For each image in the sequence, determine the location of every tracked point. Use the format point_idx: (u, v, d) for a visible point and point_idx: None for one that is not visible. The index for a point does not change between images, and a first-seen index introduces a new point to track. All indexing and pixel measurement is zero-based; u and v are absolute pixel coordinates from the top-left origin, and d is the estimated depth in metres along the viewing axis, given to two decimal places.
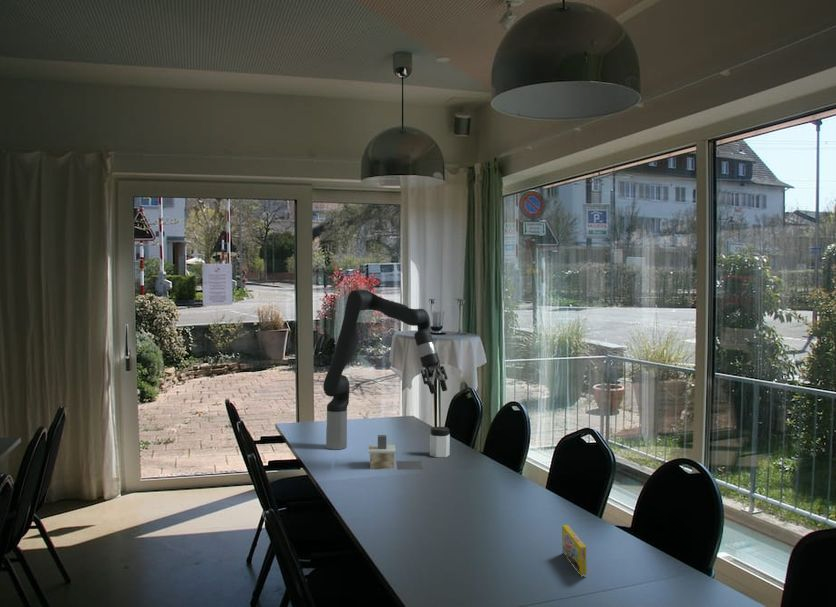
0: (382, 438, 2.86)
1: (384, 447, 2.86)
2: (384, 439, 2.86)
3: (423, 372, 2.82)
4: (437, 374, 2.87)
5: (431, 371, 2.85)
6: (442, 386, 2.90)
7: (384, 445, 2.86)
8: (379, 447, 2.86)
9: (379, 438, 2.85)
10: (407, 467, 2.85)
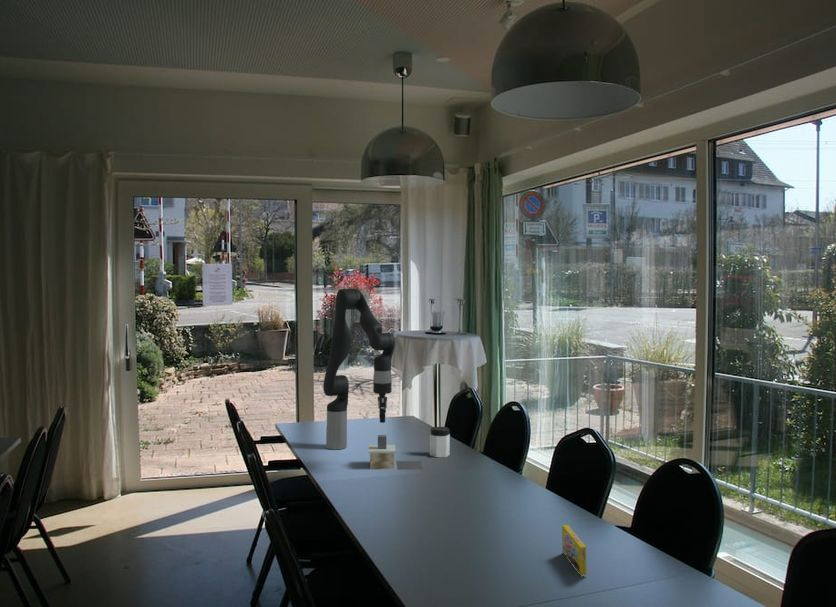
0: (382, 438, 2.86)
1: (384, 447, 2.86)
2: (384, 439, 2.86)
3: (382, 401, 2.80)
4: None
5: None
6: None
7: (384, 445, 2.86)
8: (379, 447, 2.86)
9: (379, 438, 2.85)
10: (407, 467, 2.85)
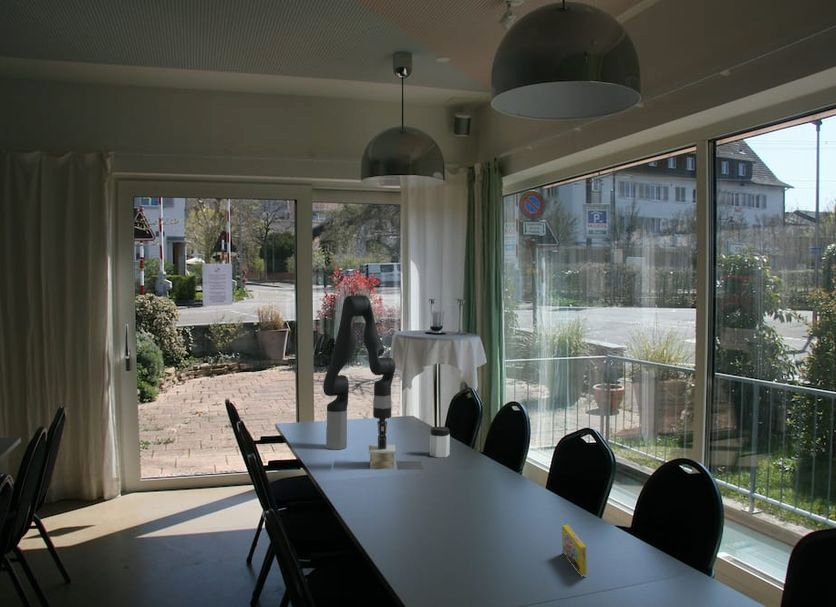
0: None
1: None
2: None
3: (382, 429, 2.81)
4: None
5: (385, 424, 2.85)
6: None
7: None
8: None
9: None
10: (407, 467, 2.85)
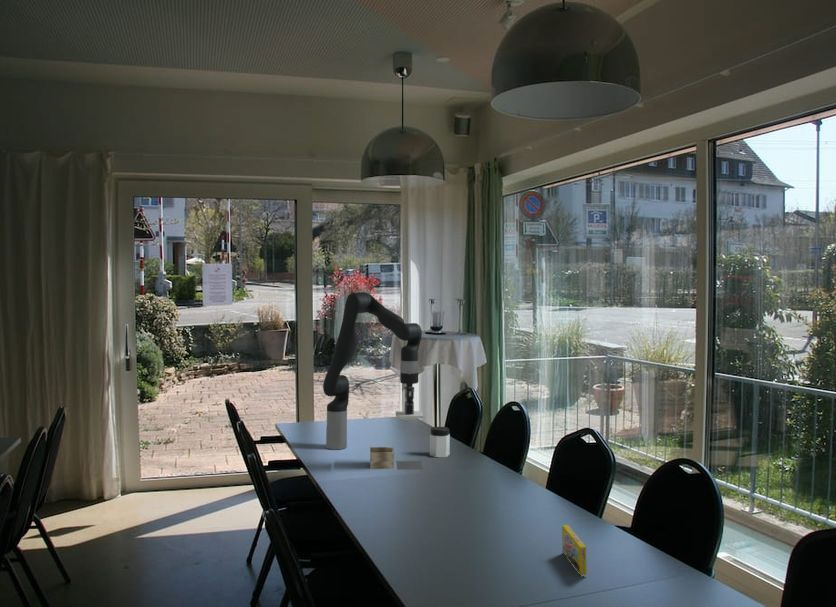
0: None
1: None
2: None
3: (410, 394, 2.81)
4: None
5: (412, 389, 2.85)
6: None
7: None
8: (406, 412, 2.86)
9: None
10: (407, 467, 2.85)
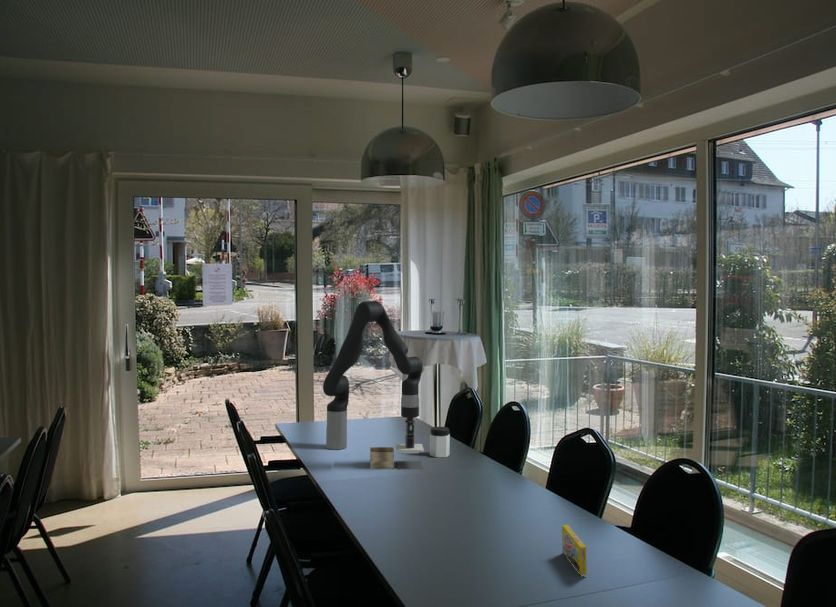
0: None
1: None
2: None
3: (410, 428, 2.82)
4: None
5: (412, 423, 2.86)
6: None
7: None
8: None
9: None
10: (407, 467, 2.85)
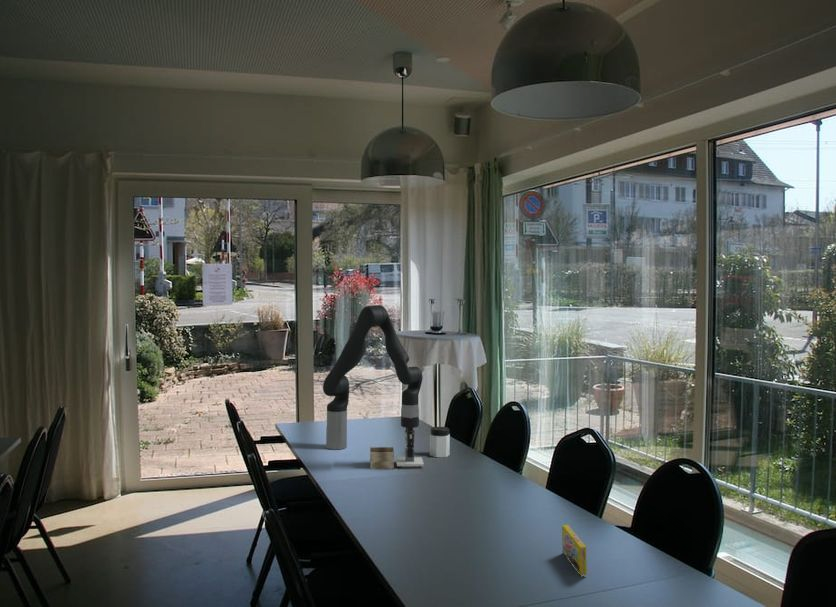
0: None
1: (412, 460, 2.87)
2: None
3: (410, 437, 2.81)
4: None
5: (412, 433, 2.86)
6: None
7: (412, 458, 2.87)
8: (407, 460, 2.87)
9: None
10: (407, 467, 2.85)
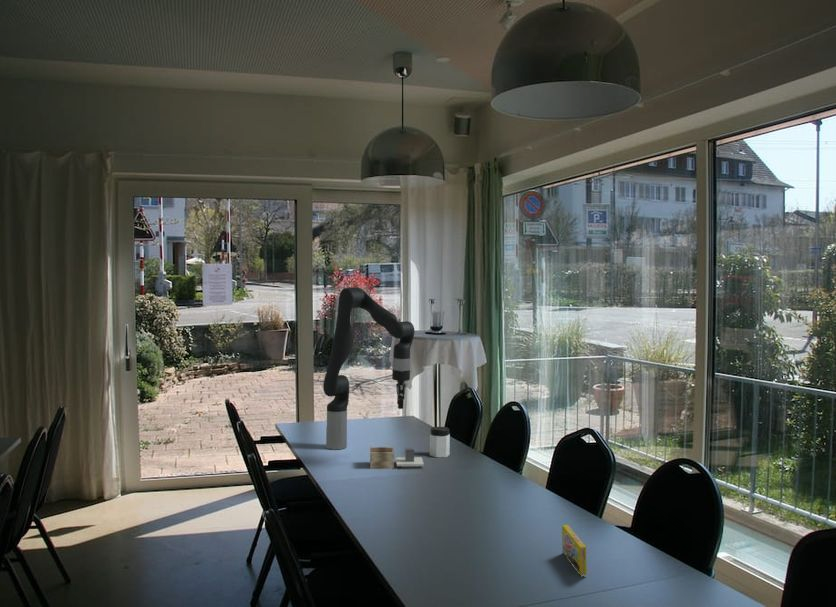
0: (410, 451, 2.87)
1: (412, 460, 2.87)
2: (412, 452, 2.87)
3: (401, 388, 2.87)
4: None
5: None
6: None
7: (412, 458, 2.87)
8: (407, 460, 2.87)
9: (407, 451, 2.87)
10: (407, 467, 2.85)
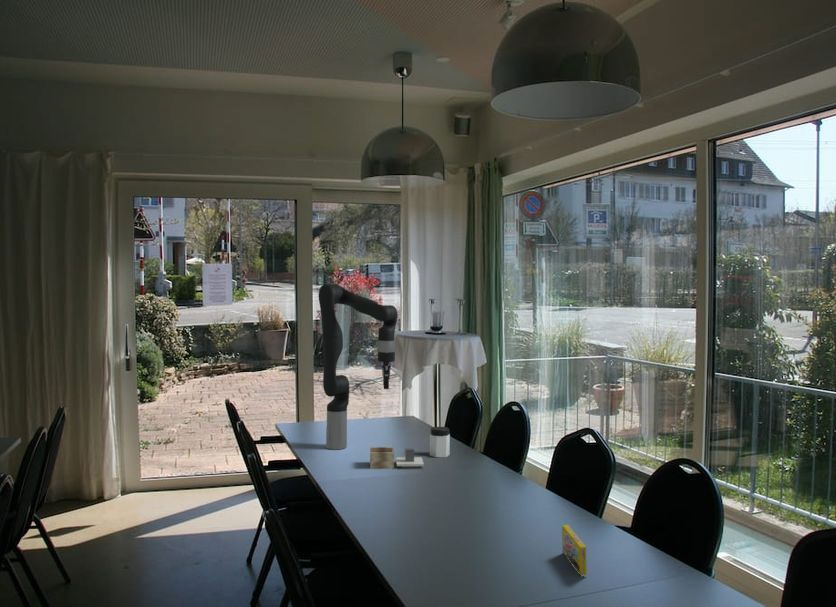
0: (410, 451, 2.87)
1: (412, 460, 2.87)
2: (412, 452, 2.87)
3: (386, 368, 2.99)
4: None
5: (388, 368, 3.03)
6: None
7: (412, 458, 2.87)
8: (407, 460, 2.87)
9: (407, 451, 2.87)
10: (407, 467, 2.85)
